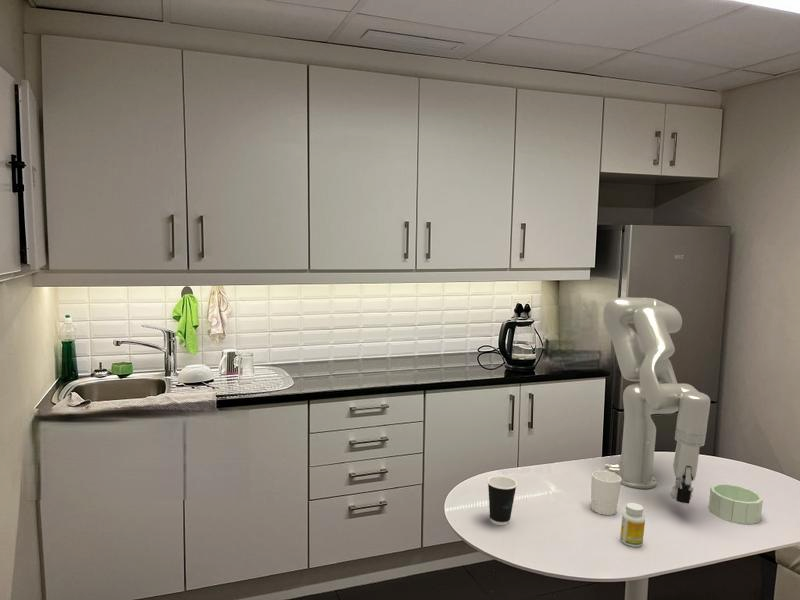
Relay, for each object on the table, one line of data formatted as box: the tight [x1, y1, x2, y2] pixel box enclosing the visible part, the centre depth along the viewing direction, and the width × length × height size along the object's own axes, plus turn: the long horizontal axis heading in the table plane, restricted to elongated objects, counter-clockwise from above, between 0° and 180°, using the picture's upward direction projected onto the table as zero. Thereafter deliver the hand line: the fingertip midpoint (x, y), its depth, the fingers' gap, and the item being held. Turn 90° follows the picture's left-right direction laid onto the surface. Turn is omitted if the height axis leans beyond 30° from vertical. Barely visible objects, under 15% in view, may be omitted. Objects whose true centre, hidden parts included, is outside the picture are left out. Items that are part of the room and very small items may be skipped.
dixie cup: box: [486, 475, 518, 526], centre depth 159 cm, size 8×8×11 cm
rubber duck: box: [670, 476, 694, 502], centre depth 168 cm, size 5×7×8 cm
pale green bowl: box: [708, 483, 764, 525], centre depth 170 cm, size 13×13×6 cm
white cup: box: [590, 470, 622, 516], centre depth 168 cm, size 8×8×10 cm
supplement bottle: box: [619, 502, 646, 548], centre depth 151 cm, size 5×5×10 cm
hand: (681, 496), depth 168 cm, fingers closed on rubber duck, 5 cm apart
